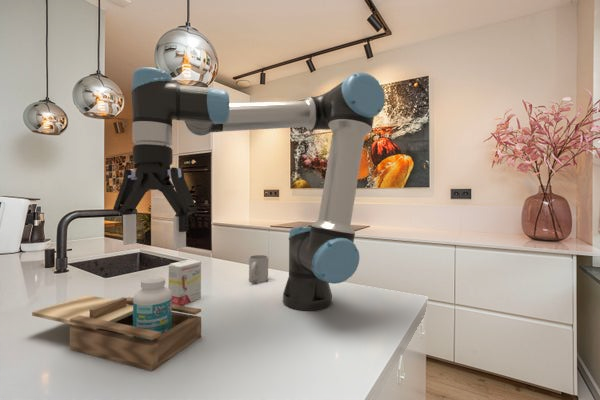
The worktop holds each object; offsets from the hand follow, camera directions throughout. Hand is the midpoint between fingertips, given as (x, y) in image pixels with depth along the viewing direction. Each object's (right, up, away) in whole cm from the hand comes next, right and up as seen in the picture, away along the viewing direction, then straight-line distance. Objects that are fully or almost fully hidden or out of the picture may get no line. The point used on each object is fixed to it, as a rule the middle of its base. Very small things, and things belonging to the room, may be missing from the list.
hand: (154, 246), depth 63 cm
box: (-4, -21, +2) cm, 22 cm away
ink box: (-4, -21, +27) cm, 34 cm away
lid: (-18, -16, +6) cm, 25 cm away
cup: (+15, -21, +48) cm, 54 cm away
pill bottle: (0, -21, 0) cm, 21 cm away
